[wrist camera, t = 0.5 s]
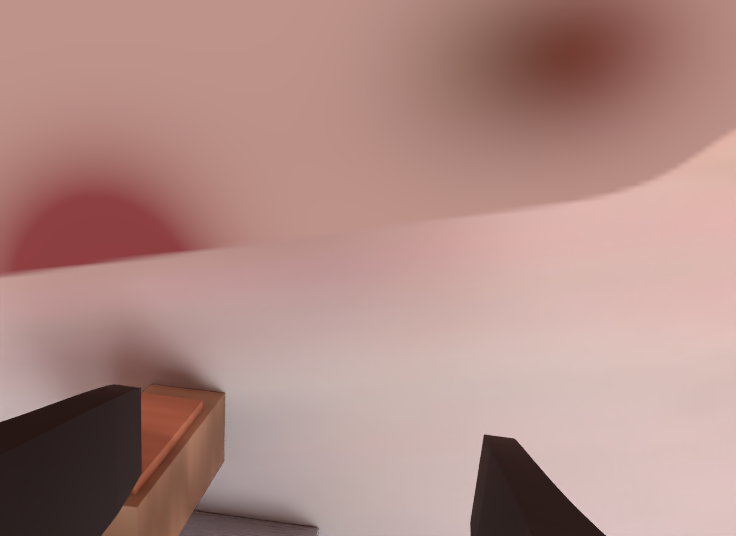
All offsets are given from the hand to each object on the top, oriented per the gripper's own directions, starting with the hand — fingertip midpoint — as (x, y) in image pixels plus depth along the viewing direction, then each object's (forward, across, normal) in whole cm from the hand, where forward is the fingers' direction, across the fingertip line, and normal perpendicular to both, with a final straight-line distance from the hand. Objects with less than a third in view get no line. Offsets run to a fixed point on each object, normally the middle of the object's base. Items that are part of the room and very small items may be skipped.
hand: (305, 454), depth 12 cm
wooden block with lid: (+10, +6, +6) cm, 13 cm away
